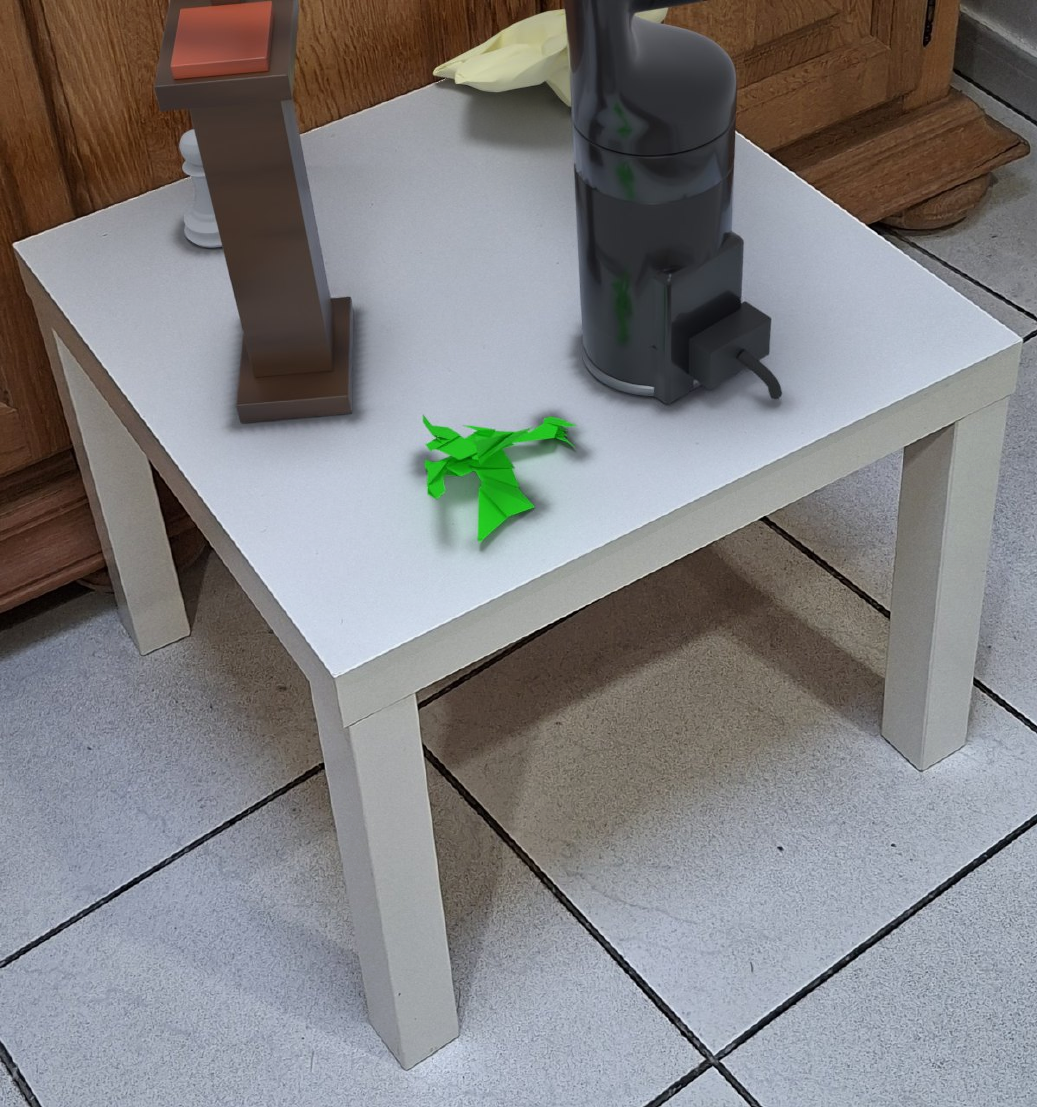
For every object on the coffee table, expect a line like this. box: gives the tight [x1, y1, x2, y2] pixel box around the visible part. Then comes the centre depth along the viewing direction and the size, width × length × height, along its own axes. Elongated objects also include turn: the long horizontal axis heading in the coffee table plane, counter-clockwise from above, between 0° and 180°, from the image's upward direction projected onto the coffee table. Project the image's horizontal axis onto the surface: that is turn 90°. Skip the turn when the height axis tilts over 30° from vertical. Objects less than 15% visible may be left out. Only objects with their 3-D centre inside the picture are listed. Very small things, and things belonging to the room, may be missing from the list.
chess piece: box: [178, 128, 223, 249], centre depth 113 cm, size 5×5×8 cm
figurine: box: [422, 414, 578, 543], centre depth 95 cm, size 6×12×9 cm
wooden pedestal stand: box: [153, 0, 355, 424], centre depth 97 cm, size 10×7×24 cm
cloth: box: [432, 7, 669, 108], centre depth 123 cm, size 22×19×6 cm
